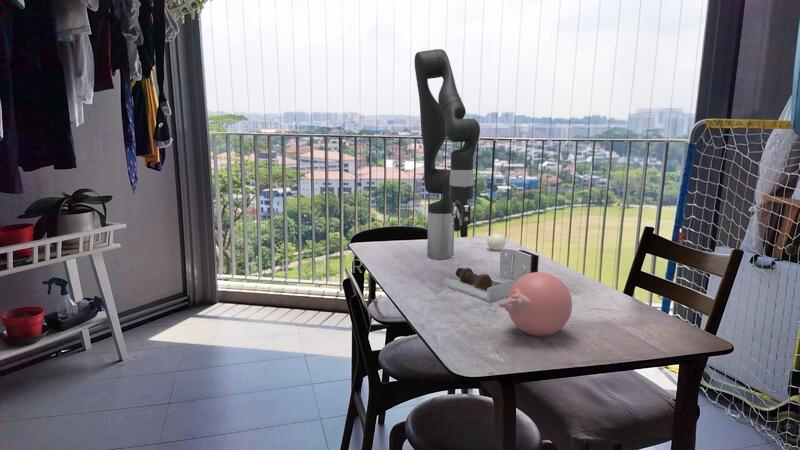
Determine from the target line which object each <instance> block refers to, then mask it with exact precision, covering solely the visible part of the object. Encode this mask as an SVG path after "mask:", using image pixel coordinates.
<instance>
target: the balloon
mask: <svg viewBox="0 0 800 450" xmlns="http://www.w3.org/2000/svg"><path fill="white" fill-rule="evenodd" d="M514 282H515V283H514V284H513V285H512V287H511V288H510V291H509V293H508V297H506V298H507V299H505V300H503V301H502V302H499V303H498V306H499V307H500V308H504V310H505V311H506V312H508V315H509V317H510V319H511V321H512V322H513V324H514V325H515V326H516V327H517V328H518V329H519V330H521V331H523V332H524V333H526V334H529V335H531V336H535V337H537V336H538V337H540V336H541V337H542V336H543V337H544V336H549V335H553V334H555V333H558V331H560V330H561V329H563V328H564V326H565V325H566V324H567V323H568V321H569V320H570V317H571V315H572V311H573V301H572V295H571V293H570V291H569V289H568V287H567V286H566V284H565V283H564V282H563V281H562V280H560V278H558V277H557V276H555V275H552V274H550V273H547V272H541V271H538V272H534V273H529V274H526V275H524V276H522V277H520V278H519V279H518V280H517V281H514Z"/></svg>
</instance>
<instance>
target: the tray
mask: <svg viewBox="0 0 800 450" xmlns="http://www.w3.org/2000/svg"><path fill="white" fill-rule="evenodd" d="M473 273H474V274H477V275H479V274H478V273H475V272H473ZM491 280H492V286H491V287H489V288H487V291H486V290H484V289H481V288H478V287H475V285H474V284H472V283H463V282H462V281H461V280H460V278H459V279H455V278H452V277H449V276H445V277H444V282H443V283H444V286H445V287H447V288H450V289H452V290H456V291H458V292H461V293H464V294H466V295H469V296H472V297H475V298H478V299H481V300H483V301H486V302H488V303H491V302H495V301H497V300H502V299H506V298H507V297H508V293H509V291H510V288H511V287H512V285H513V284H514V283H515V282H516V281H515V280H510V281H507V282H503V281H500V280H497V279H494V278H491Z"/></svg>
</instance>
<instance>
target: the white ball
mask: <svg viewBox="0 0 800 450" xmlns="http://www.w3.org/2000/svg"><path fill="white" fill-rule="evenodd" d="M486 244H487V245H488V247H489V248H490V249H491V250H493V251H501V248H505V245H506V238H505V236H504V235H503V234H502V233H496V232H495V233H493V234H491V235H490V236H489V237H488V238H487V243H486Z"/></svg>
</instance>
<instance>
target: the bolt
mask: <svg viewBox="0 0 800 450" xmlns="http://www.w3.org/2000/svg"><path fill="white" fill-rule="evenodd" d="M474 273H475V272H474V271H473V269H471V268H470V267H467V268H462V267H458V268H457V269H456V271H455V276H456V277H457V278H459V279H460V280H461V281H462V282H463V283H472V284H474V285H475V287H478V288H481V289H484V290H486V291H487V288H489V287H491V286H492V280H491V279H492V278H491V276H490V275H489V274H488V273H484V274H478V273H475V274H474ZM477 274H478V275H477Z"/></svg>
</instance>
